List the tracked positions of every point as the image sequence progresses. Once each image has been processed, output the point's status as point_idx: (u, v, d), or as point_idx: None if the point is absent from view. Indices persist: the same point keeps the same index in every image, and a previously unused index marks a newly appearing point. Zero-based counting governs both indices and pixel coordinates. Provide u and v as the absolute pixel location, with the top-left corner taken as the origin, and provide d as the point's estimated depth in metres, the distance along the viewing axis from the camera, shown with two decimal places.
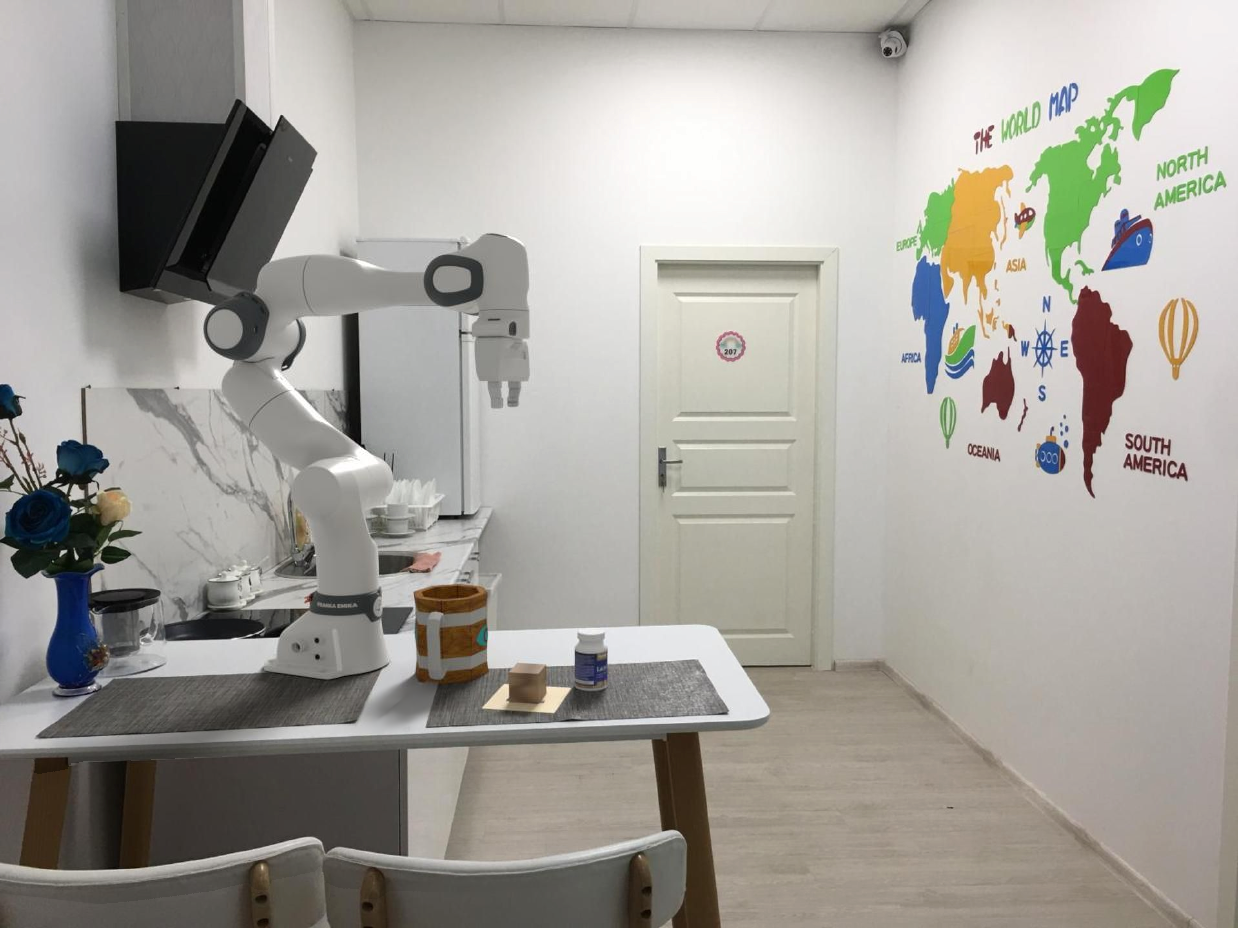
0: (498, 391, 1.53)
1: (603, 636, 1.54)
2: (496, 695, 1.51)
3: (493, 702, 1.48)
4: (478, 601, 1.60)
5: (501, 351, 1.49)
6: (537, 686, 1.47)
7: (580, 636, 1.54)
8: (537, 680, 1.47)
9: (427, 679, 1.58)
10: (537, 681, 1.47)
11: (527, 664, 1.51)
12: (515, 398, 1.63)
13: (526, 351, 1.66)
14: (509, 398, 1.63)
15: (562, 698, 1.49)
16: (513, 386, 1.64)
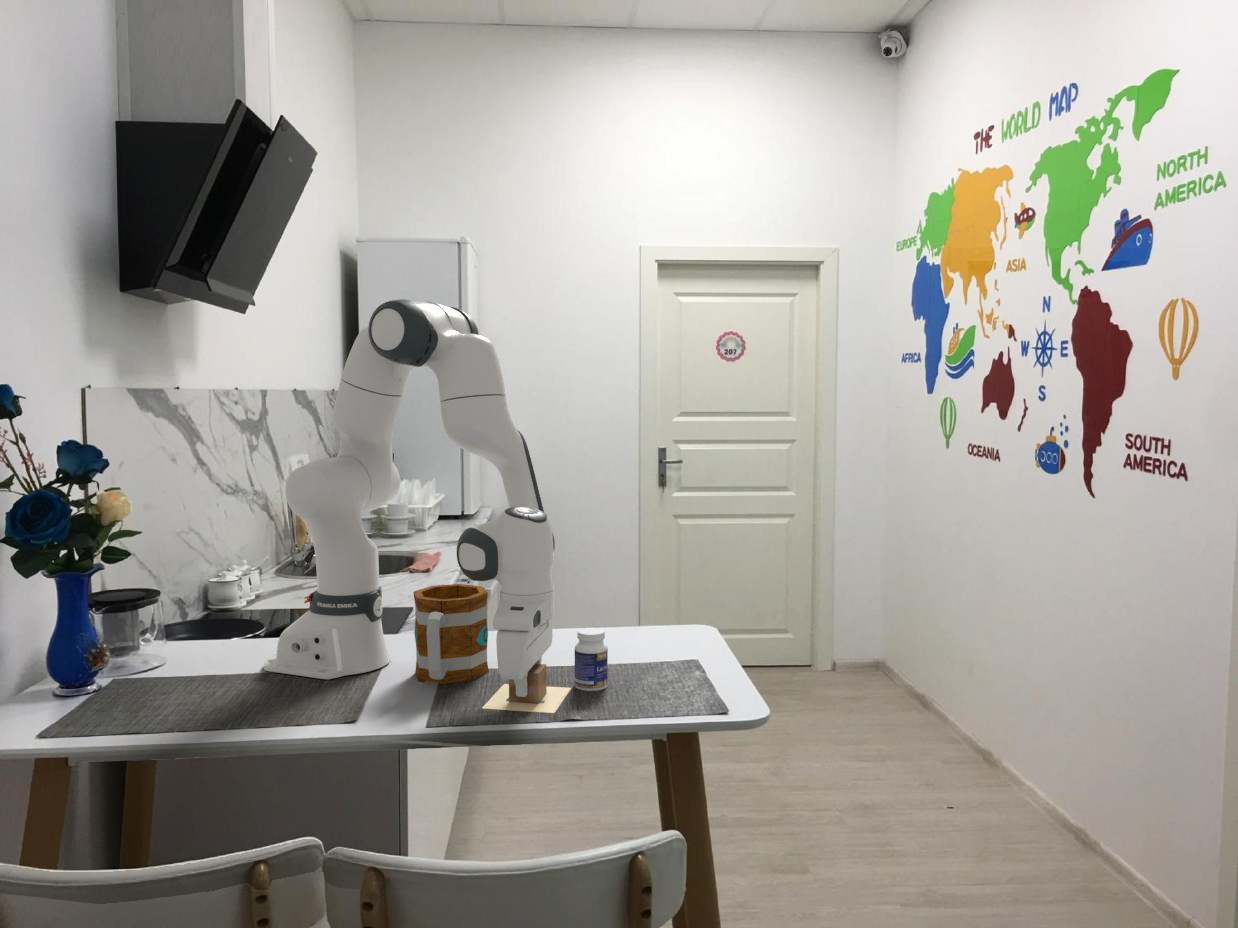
0: (524, 680, 1.45)
1: (603, 636, 1.54)
2: (496, 695, 1.51)
3: (493, 702, 1.48)
4: (478, 601, 1.60)
5: (525, 648, 1.39)
6: (537, 686, 1.47)
7: (580, 636, 1.54)
8: (537, 680, 1.47)
9: (427, 679, 1.58)
10: (537, 681, 1.47)
11: None
12: None
13: None
14: None
15: (562, 698, 1.49)
16: None
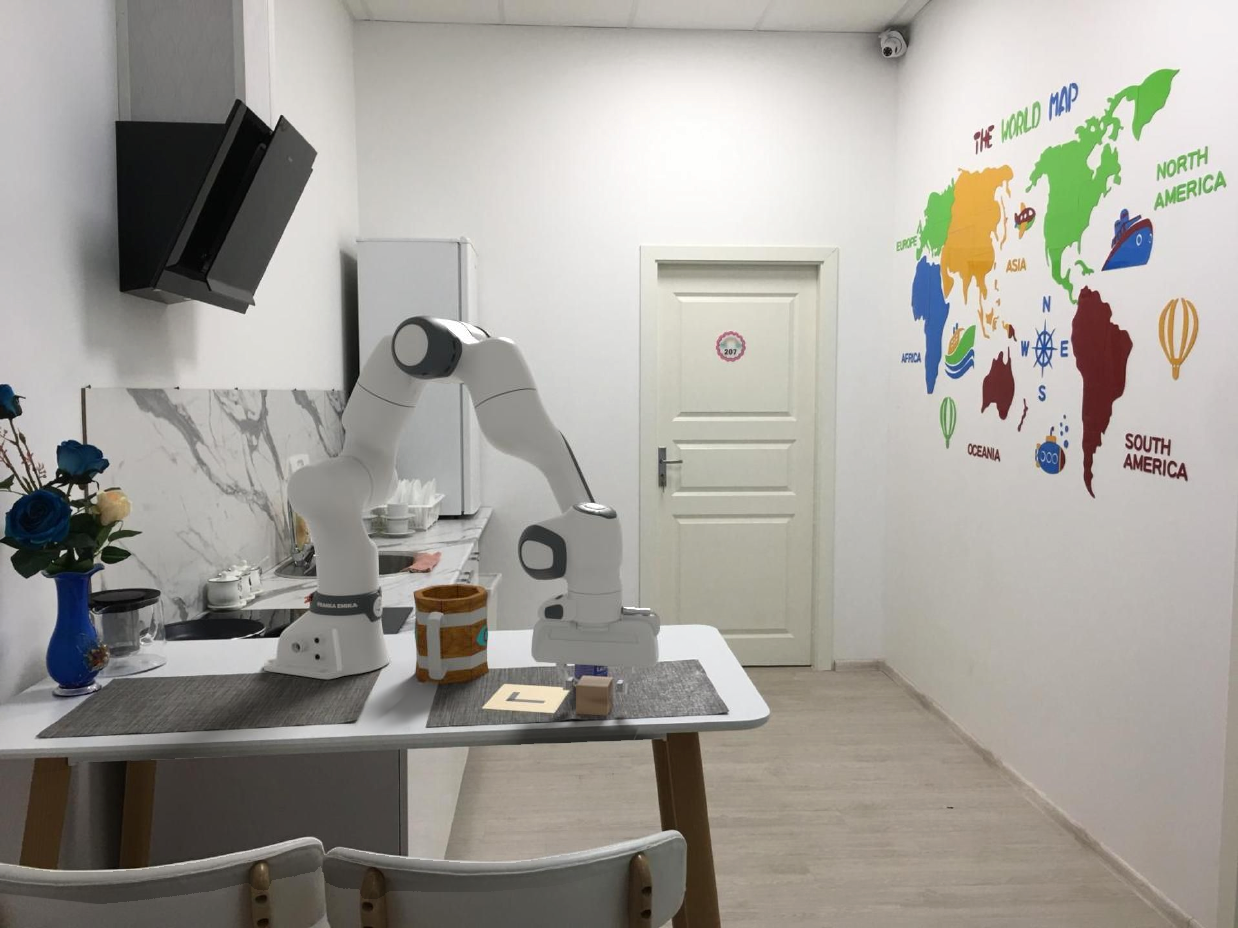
0: (558, 672, 1.44)
1: None
2: (496, 695, 1.51)
3: (493, 702, 1.48)
4: (478, 601, 1.60)
5: (535, 633, 1.43)
6: (576, 698, 1.43)
7: None
8: (576, 692, 1.43)
9: (427, 679, 1.58)
10: (576, 693, 1.43)
11: (607, 680, 1.45)
12: None
13: (640, 634, 1.40)
14: (618, 681, 1.44)
15: (562, 698, 1.49)
16: None
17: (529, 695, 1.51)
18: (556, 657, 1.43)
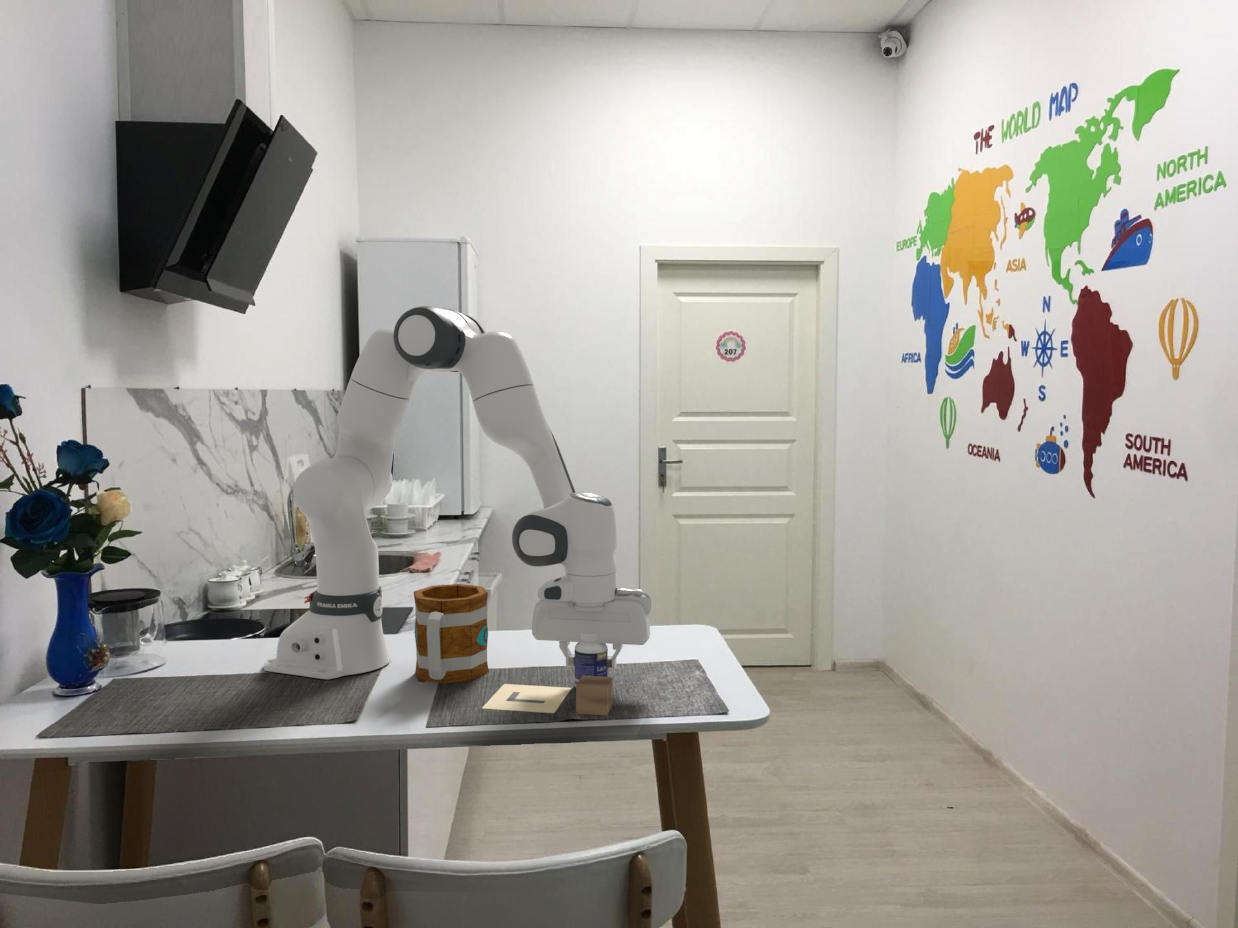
0: None
1: None
2: (496, 695, 1.51)
3: (493, 702, 1.48)
4: (478, 601, 1.60)
5: (535, 613, 1.54)
6: (576, 698, 1.43)
7: None
8: (576, 692, 1.43)
9: (427, 679, 1.58)
10: (576, 693, 1.43)
11: (607, 680, 1.45)
12: (606, 659, 1.54)
13: (633, 613, 1.52)
14: (607, 657, 1.56)
15: (562, 698, 1.49)
16: None
17: (529, 695, 1.51)
18: (555, 635, 1.54)
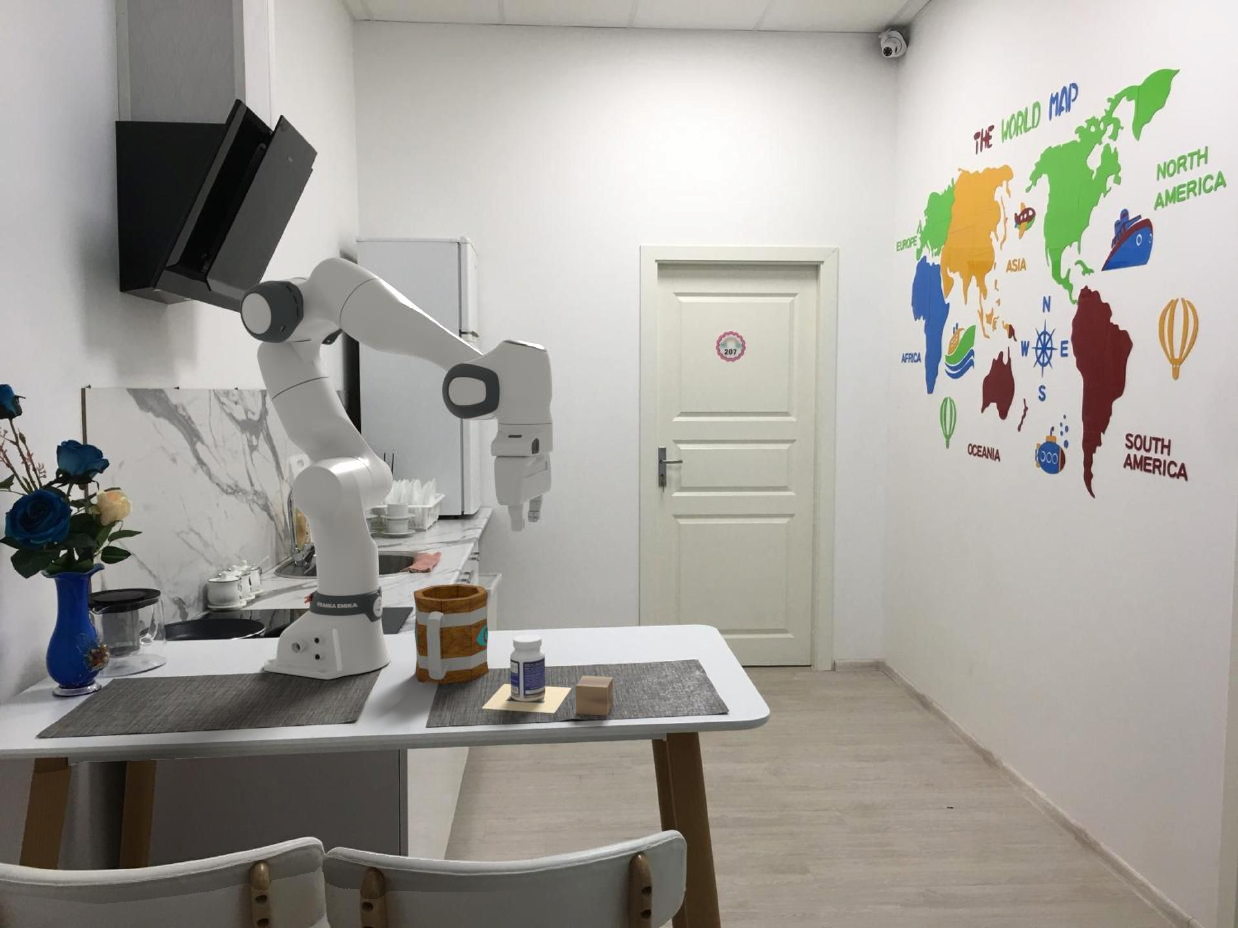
0: (519, 513, 1.41)
1: None
2: (496, 695, 1.51)
3: (493, 702, 1.48)
4: (478, 601, 1.60)
5: (523, 473, 1.37)
6: (576, 698, 1.43)
7: (535, 644, 1.48)
8: (576, 692, 1.43)
9: (427, 679, 1.58)
10: (576, 693, 1.43)
11: (607, 680, 1.45)
12: (536, 513, 1.51)
13: (548, 460, 1.53)
14: (530, 513, 1.51)
15: (562, 698, 1.49)
16: (534, 499, 1.52)
17: None
18: (526, 496, 1.41)
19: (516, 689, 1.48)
